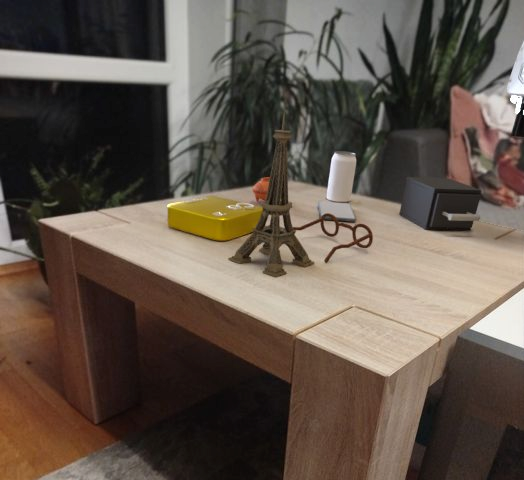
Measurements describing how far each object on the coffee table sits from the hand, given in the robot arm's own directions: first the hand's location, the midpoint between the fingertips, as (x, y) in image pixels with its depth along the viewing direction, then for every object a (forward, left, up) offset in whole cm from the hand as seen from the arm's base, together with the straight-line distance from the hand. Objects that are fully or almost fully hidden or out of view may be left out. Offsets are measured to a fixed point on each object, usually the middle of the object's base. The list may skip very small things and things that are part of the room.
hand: (519, 136), depth 100 cm
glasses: (+41, +7, -21) cm, 47 cm away
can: (+23, -35, -21) cm, 47 cm away
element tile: (+60, -6, -21) cm, 64 cm away
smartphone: (+29, -20, -21) cm, 41 cm away
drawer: (+6, -10, -20) cm, 23 cm away
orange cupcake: (+44, -29, -21) cm, 57 cm away
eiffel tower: (+53, +15, -21) cm, 59 cm away
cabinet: (+6, -14, -21) cm, 26 cm away
